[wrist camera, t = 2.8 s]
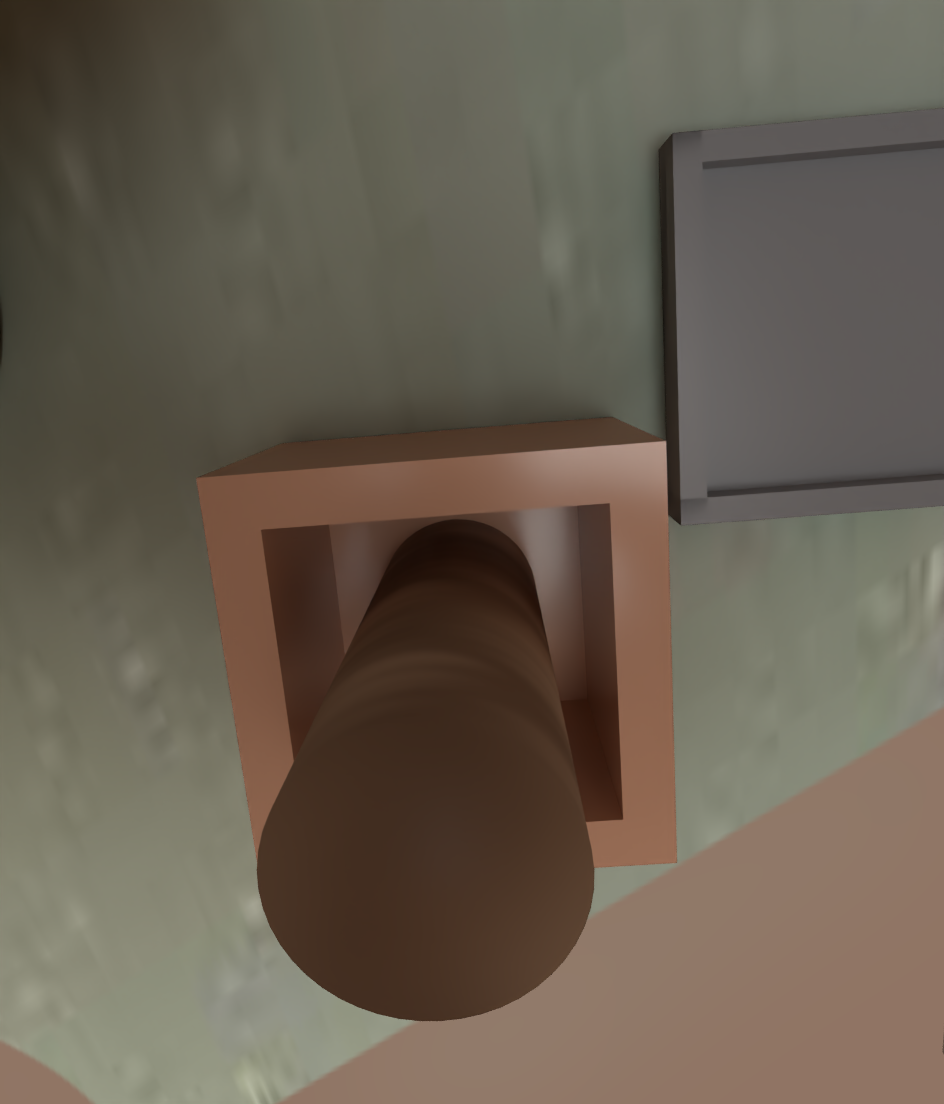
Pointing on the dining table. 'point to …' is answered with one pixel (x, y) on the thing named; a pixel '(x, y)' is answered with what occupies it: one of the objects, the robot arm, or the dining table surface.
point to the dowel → (434, 796)
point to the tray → (804, 317)
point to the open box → (484, 496)
